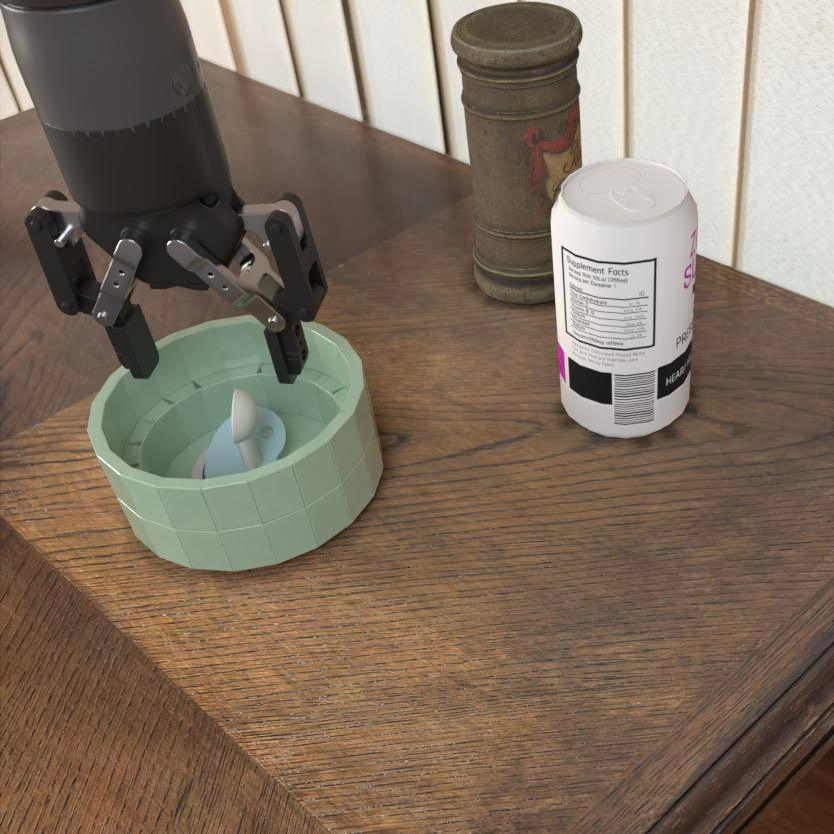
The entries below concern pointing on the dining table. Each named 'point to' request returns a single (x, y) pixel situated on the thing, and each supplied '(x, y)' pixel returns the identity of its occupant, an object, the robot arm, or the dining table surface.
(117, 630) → the dining table surface
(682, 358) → the supplement can
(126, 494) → the bowl
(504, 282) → the container
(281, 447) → the pacifier
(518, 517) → the dining table surface
